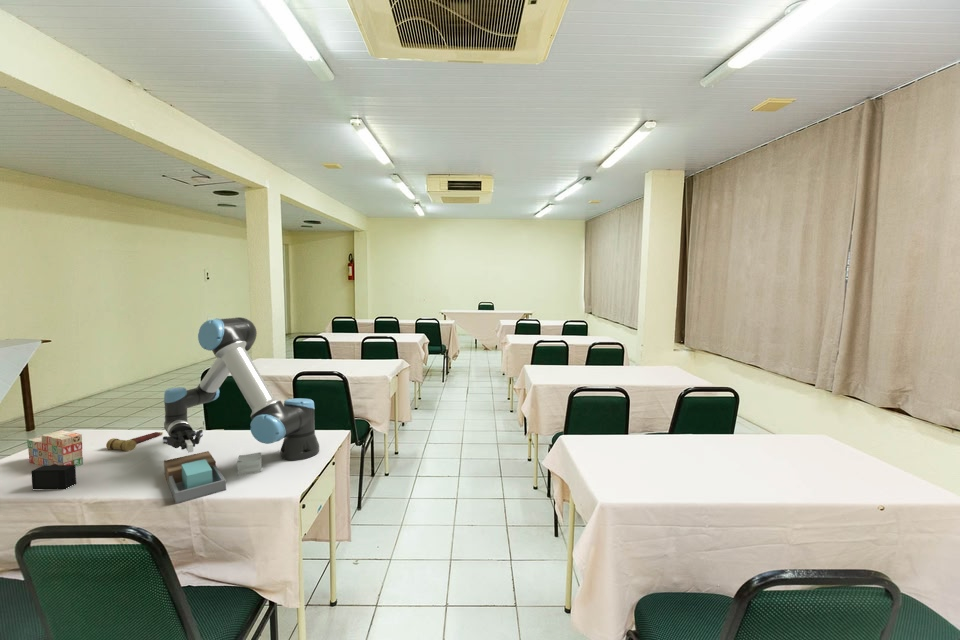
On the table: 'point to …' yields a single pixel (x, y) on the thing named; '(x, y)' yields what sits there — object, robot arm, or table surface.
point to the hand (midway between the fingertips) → (190, 448)
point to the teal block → (196, 474)
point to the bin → (197, 488)
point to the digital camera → (53, 477)
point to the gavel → (129, 442)
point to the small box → (249, 464)
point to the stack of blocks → (56, 449)
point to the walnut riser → (175, 465)
